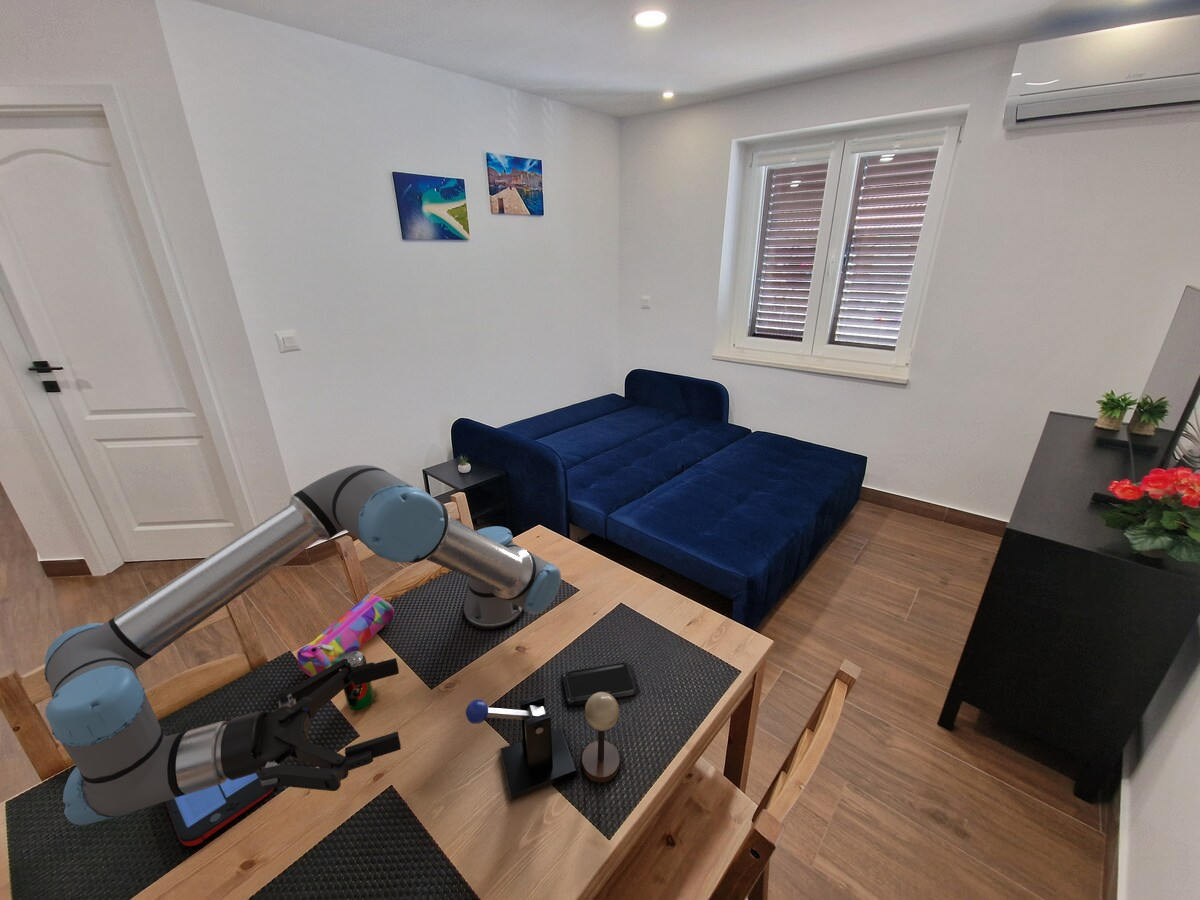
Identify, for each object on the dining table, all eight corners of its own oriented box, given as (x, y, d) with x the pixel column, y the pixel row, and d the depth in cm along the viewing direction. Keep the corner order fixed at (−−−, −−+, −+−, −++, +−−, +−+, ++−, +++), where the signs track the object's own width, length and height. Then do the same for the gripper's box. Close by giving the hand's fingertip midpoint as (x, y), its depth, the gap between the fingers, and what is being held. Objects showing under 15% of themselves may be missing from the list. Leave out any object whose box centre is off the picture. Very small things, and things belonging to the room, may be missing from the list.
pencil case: (328, 692, 103) (319, 661, 100) (296, 679, 106) (286, 648, 103) (400, 623, 122) (394, 594, 119) (370, 613, 125) (364, 585, 121)
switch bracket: (510, 800, 84) (505, 743, 78) (500, 753, 92) (495, 698, 86) (576, 775, 88) (575, 719, 82) (561, 732, 96) (560, 678, 90)
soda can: (380, 697, 103) (370, 654, 98) (360, 716, 98) (348, 673, 94) (363, 688, 104) (352, 646, 100) (342, 706, 100) (330, 664, 95)
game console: (276, 791, 85) (273, 783, 84) (186, 857, 76) (181, 848, 75) (247, 741, 93) (244, 733, 92) (163, 794, 84) (158, 786, 83)
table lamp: (576, 752, 92) (576, 688, 85) (610, 740, 95) (612, 677, 88) (589, 788, 86) (590, 722, 79) (625, 774, 89) (629, 709, 82)
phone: (562, 672, 108) (627, 661, 111) (562, 676, 108) (627, 665, 111) (567, 703, 100) (637, 690, 103) (568, 707, 101) (637, 694, 104)
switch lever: (463, 728, 77) (473, 711, 77) (460, 709, 80) (470, 693, 80) (540, 733, 84) (549, 717, 84) (534, 715, 87) (543, 700, 87)
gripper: (257, 694, 77) (400, 657, 84) (208, 868, 56) (404, 798, 63) (244, 659, 74) (393, 623, 81) (187, 829, 53) (395, 760, 60)
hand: (398, 700), depth 72 cm, fingers open, 13 cm apart
